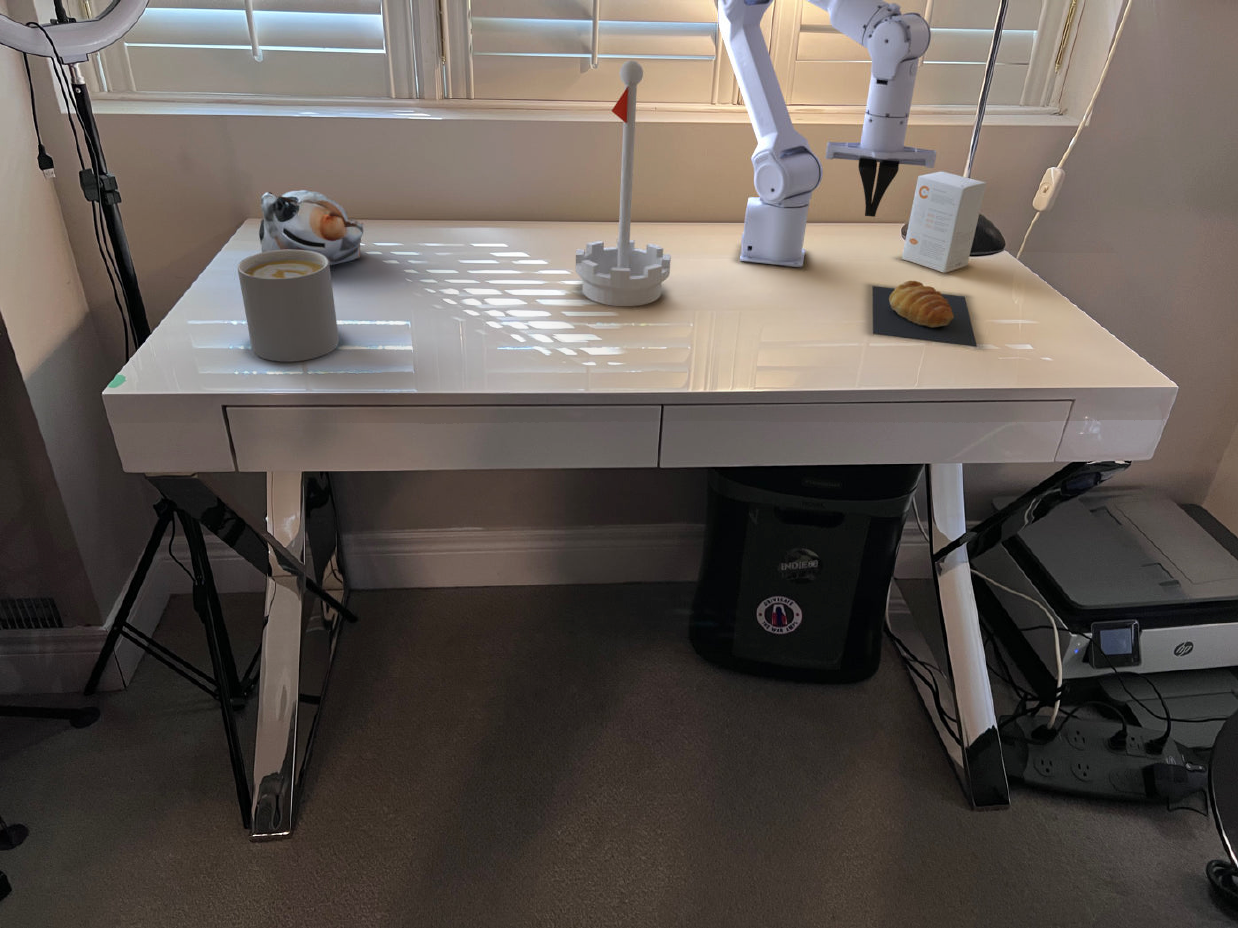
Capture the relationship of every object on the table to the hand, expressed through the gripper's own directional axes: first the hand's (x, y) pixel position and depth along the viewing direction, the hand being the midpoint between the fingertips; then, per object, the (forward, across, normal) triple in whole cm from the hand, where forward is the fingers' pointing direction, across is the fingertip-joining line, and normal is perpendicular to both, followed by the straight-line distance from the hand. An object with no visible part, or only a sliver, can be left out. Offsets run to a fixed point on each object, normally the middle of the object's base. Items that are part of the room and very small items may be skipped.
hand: (870, 214), depth 132 cm
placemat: (+10, +9, -10) cm, 16 cm away
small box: (+10, +11, +14) cm, 21 cm away
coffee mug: (+10, -66, -43) cm, 80 cm away
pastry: (+10, +8, -10) cm, 17 cm away
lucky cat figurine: (+10, -76, -19) cm, 79 cm away
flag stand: (+10, -32, -15) cm, 37 cm away
